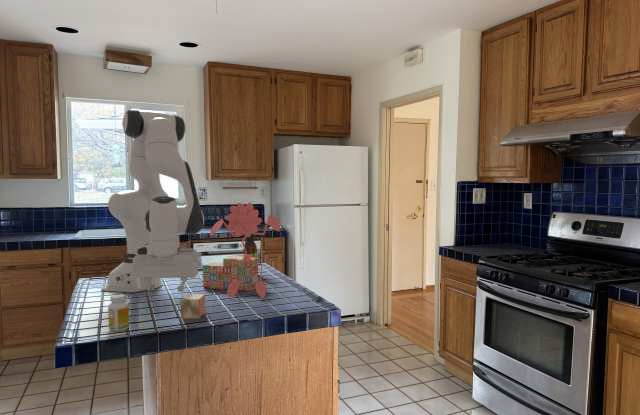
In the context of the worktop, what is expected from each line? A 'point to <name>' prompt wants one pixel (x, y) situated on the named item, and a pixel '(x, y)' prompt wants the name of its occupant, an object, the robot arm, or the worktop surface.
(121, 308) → the supplement bottle
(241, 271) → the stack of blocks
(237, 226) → the coral stemmed figure
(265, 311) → the worktop surface
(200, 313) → the maple cube
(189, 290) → the worktop surface
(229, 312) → the worktop surface
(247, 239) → the sauce bottle
